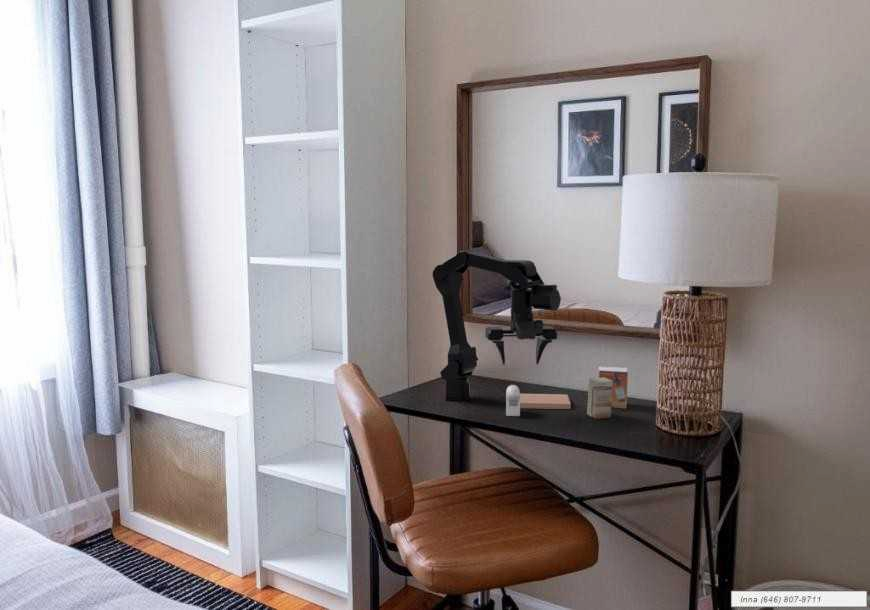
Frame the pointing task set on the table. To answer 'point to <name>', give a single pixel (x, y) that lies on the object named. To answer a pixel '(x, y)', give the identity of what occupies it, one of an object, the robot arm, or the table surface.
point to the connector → (512, 401)
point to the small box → (616, 384)
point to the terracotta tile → (545, 401)
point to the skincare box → (599, 397)
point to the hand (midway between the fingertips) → (520, 364)
